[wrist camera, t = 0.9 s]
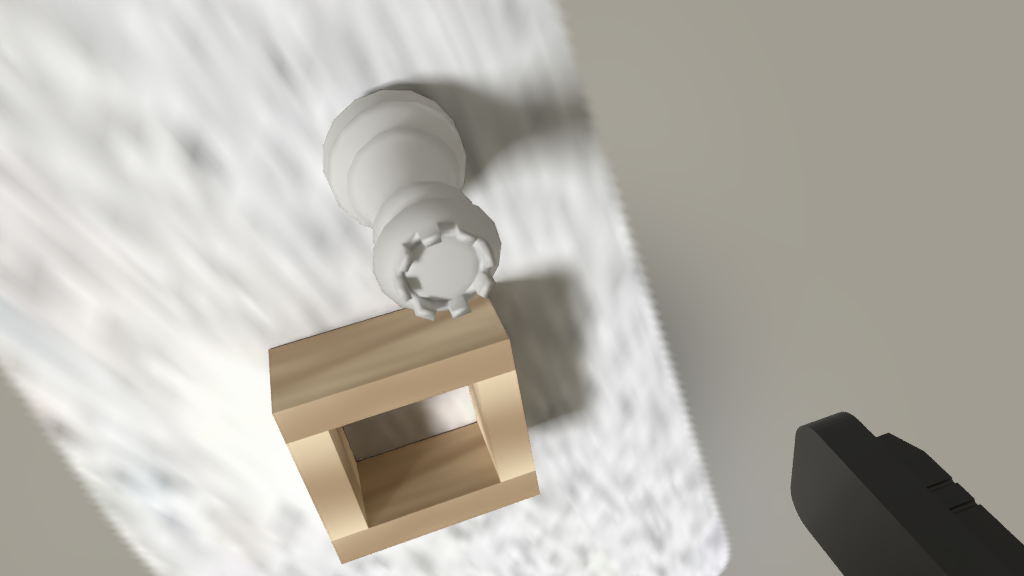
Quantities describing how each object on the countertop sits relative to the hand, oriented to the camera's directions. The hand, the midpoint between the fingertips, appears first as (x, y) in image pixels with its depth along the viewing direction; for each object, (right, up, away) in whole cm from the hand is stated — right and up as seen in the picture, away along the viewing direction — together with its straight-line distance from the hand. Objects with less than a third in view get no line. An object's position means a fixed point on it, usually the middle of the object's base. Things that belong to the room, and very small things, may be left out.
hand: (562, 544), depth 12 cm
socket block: (-5, 0, +18) cm, 19 cm away
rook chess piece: (-5, +8, +13) cm, 16 cm away
